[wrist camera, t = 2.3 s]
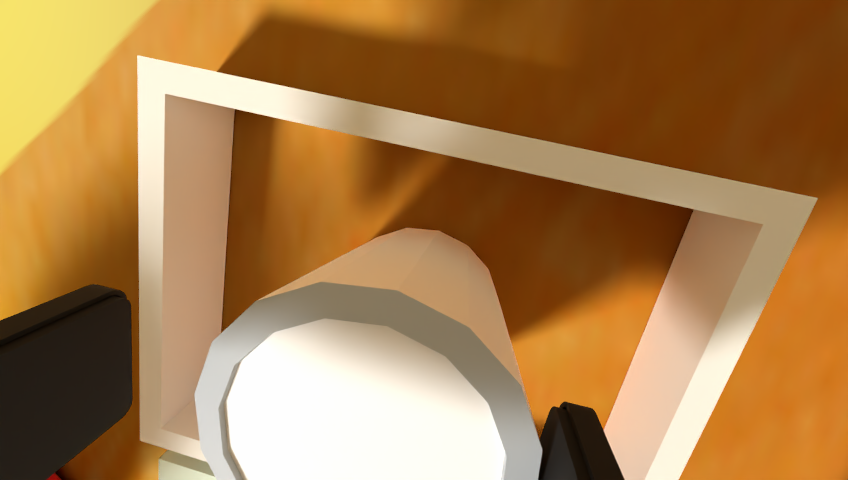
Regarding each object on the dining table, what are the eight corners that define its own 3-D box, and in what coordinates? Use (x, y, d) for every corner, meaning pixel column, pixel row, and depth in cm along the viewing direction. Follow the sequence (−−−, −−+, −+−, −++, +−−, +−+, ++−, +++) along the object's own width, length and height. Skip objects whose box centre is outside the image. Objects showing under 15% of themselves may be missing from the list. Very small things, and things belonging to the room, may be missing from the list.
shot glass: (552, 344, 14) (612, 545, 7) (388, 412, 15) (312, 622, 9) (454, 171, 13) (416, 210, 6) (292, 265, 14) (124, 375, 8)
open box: (735, 182, 11) (818, 198, 9) (596, 506, 15) (621, 593, 12) (214, 72, 13) (137, 55, 10) (200, 388, 17) (139, 440, 14)
